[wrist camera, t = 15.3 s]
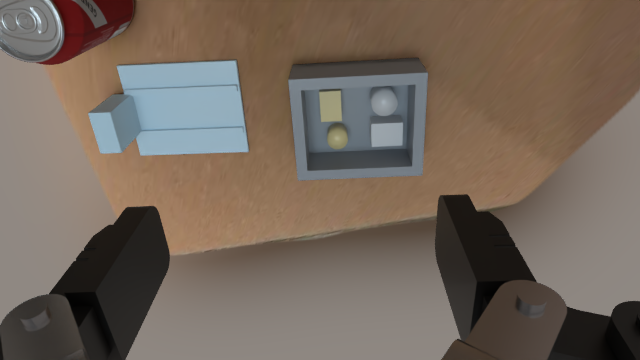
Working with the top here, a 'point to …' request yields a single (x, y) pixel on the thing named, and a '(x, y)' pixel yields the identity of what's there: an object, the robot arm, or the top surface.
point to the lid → (174, 109)
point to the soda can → (59, 27)
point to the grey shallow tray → (359, 118)
